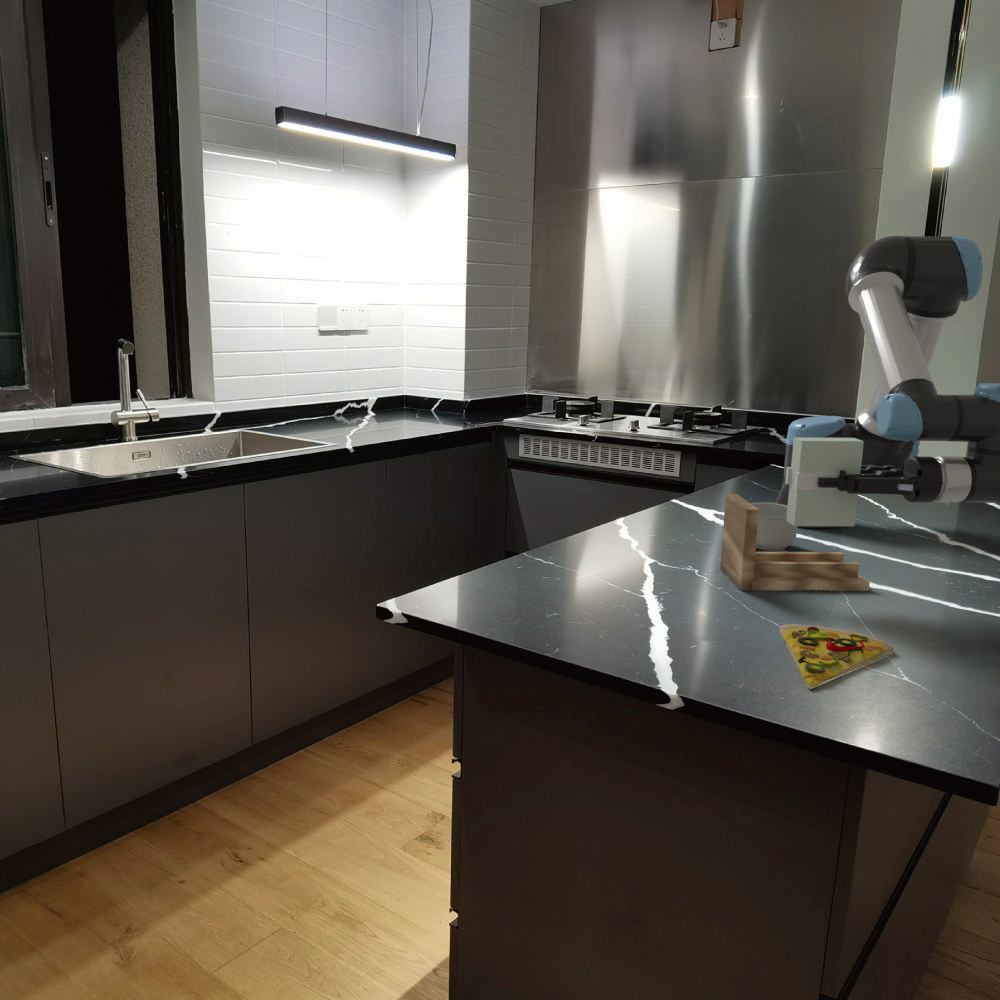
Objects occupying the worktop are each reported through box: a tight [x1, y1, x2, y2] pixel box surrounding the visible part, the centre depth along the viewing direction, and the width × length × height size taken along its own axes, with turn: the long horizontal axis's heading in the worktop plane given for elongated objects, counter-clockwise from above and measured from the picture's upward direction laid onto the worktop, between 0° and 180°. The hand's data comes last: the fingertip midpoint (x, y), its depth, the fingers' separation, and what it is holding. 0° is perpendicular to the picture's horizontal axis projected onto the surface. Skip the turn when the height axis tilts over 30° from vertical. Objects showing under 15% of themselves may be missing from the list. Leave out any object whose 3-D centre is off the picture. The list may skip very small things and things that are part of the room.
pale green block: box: [786, 437, 864, 527], centre depth 141 cm, size 10×4×14 cm, turn 92°
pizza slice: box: [778, 623, 895, 687], centre depth 116 cm, size 16×21×3 cm
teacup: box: [750, 502, 798, 552], centre depth 172 cm, size 14×11×8 cm
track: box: [719, 493, 870, 592], centre depth 150 cm, size 22×12×14 cm, turn 92°
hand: (791, 478), depth 140 cm, fingers closed on pale green block, 3 cm apart
